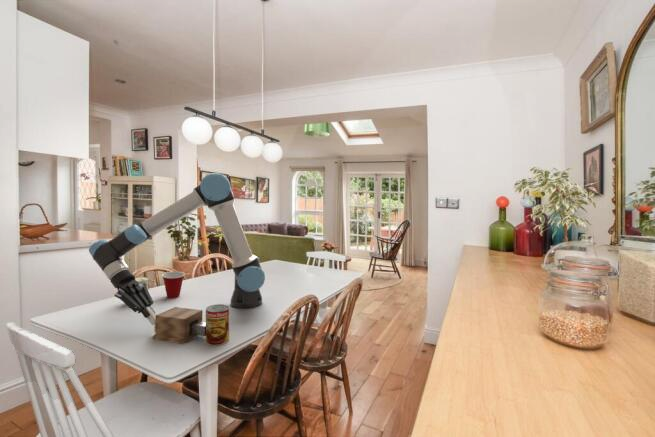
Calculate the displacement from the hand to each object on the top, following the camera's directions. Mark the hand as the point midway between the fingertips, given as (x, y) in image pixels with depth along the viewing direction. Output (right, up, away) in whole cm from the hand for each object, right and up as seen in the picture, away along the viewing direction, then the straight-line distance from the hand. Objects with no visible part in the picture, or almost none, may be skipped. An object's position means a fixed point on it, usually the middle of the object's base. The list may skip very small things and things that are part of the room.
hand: (155, 322), depth 119 cm
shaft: (+11, -3, -2) cm, 12 cm away
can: (-27, -2, +34) cm, 44 cm away
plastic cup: (-16, -2, +46) cm, 48 cm away
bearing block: (+10, -4, -2) cm, 11 cm away
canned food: (+25, -5, -5) cm, 26 cm away
